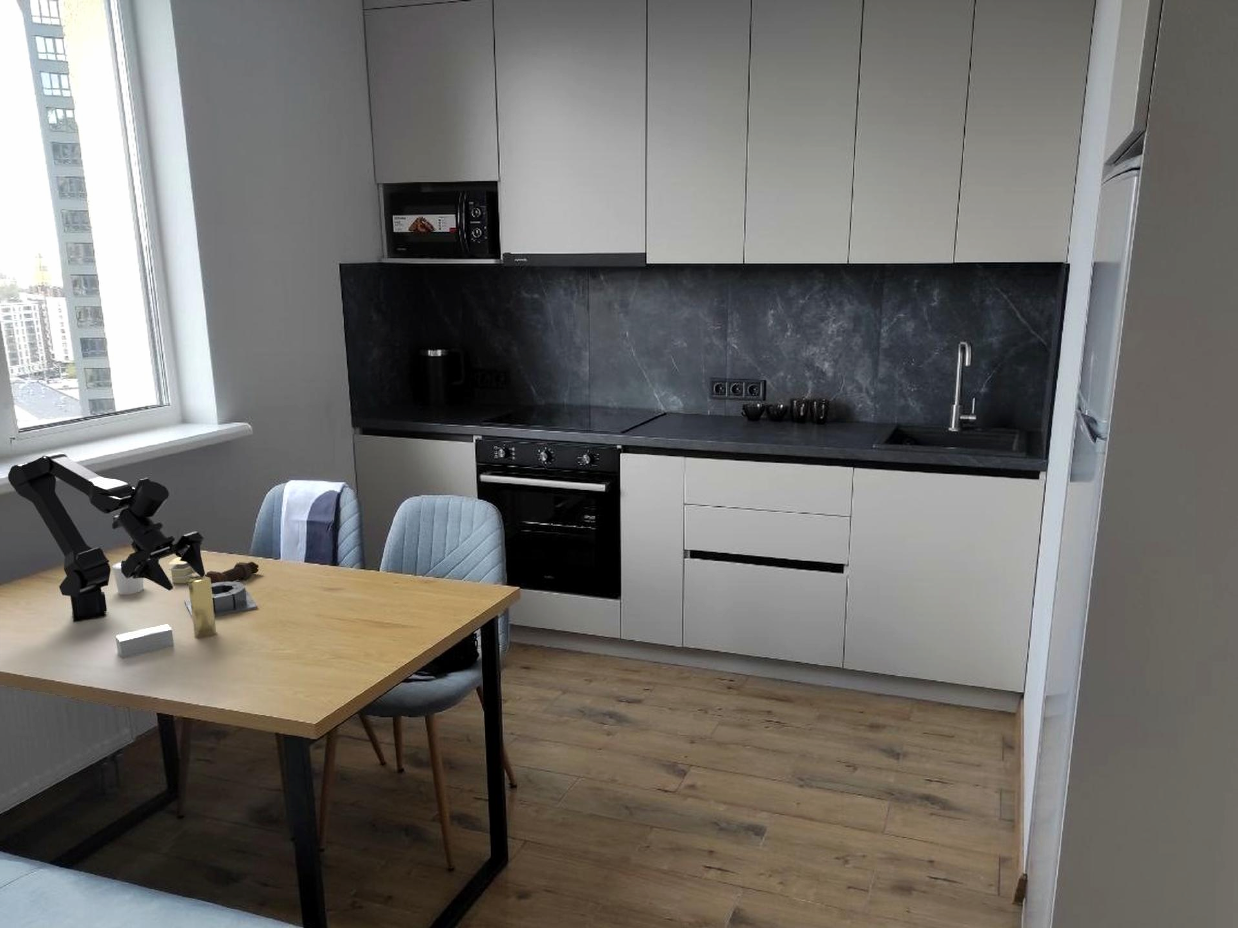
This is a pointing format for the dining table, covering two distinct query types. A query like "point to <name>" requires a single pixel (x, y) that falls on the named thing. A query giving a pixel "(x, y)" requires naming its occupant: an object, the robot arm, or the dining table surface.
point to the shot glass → (126, 581)
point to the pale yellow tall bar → (202, 607)
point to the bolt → (234, 573)
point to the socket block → (228, 599)
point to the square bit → (144, 641)
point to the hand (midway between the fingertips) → (187, 582)
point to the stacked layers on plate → (180, 571)
